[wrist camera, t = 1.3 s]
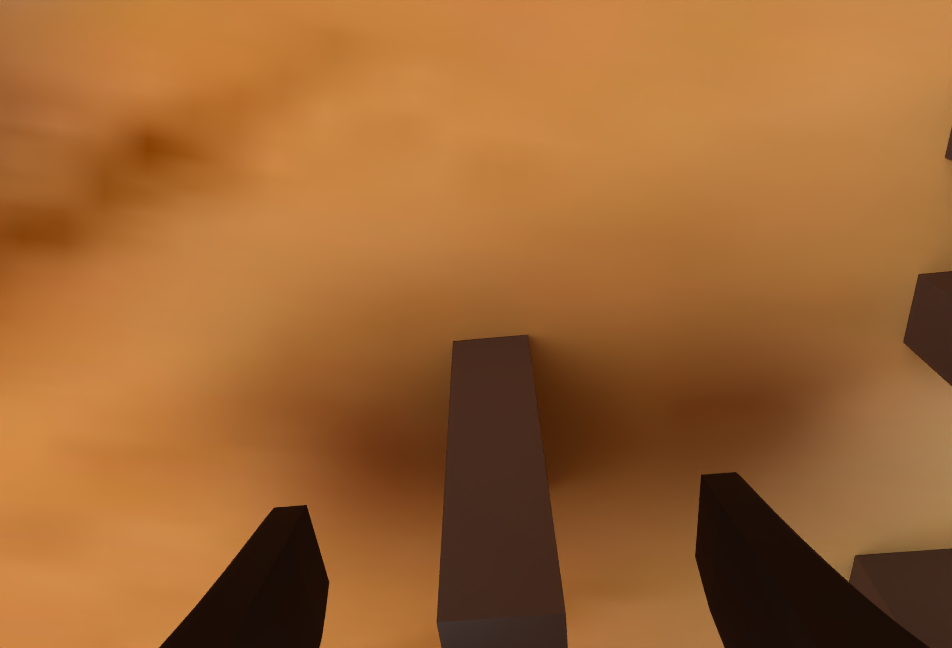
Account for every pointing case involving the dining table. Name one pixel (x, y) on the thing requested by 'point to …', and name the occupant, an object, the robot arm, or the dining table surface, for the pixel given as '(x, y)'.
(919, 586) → the tile
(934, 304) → the tile
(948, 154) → the tile
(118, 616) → the dining table surface
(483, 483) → the tile
